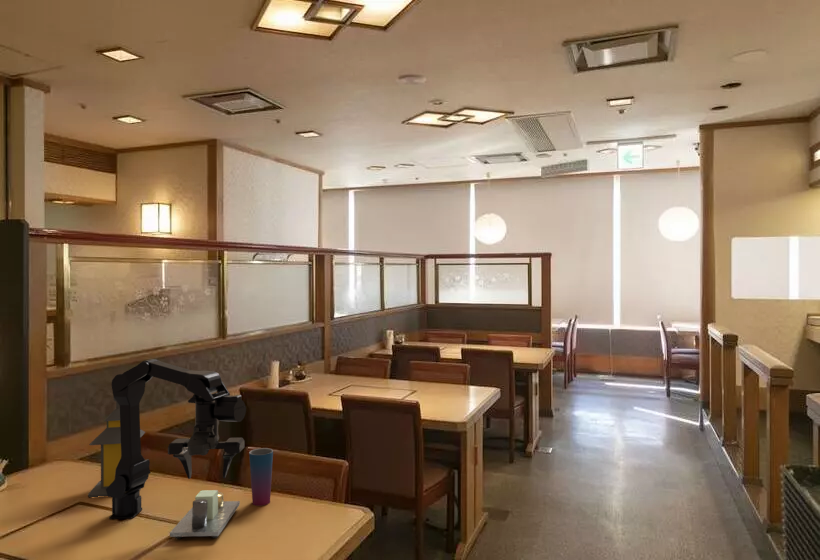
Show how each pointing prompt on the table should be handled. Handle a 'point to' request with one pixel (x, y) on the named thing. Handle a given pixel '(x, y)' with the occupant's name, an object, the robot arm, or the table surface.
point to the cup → (261, 475)
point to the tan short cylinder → (220, 499)
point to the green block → (209, 501)
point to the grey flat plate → (212, 526)
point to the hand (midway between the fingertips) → (207, 478)
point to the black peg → (199, 513)
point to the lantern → (109, 452)
